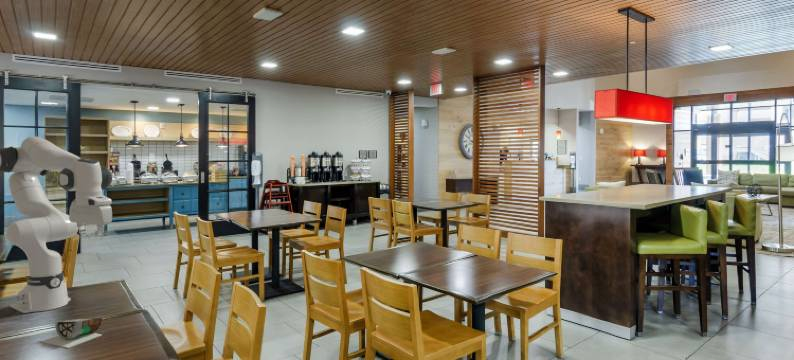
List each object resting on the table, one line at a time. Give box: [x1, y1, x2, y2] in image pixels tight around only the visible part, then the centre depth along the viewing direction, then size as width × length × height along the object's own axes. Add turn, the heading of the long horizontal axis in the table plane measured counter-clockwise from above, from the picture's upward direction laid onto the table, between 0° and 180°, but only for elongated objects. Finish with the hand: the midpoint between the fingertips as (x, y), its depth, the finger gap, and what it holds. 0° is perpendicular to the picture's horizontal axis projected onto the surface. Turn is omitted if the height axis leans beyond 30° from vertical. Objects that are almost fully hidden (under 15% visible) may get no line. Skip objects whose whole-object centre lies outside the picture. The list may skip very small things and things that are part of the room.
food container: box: [54, 317, 103, 339], centre depth 166 cm, size 12×6×10 cm
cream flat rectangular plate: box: [41, 332, 103, 349], centre depth 164 cm, size 14×12×1 cm
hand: (90, 234), depth 181 cm, fingers open, 8 cm apart
